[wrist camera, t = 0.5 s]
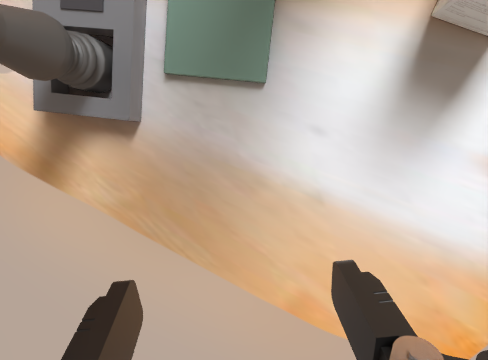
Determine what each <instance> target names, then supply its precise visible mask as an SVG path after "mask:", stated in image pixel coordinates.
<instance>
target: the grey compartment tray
mask: <svg viewBox="0 0 488 360" xmlns="http://www.w3.org/2000/svg"><path fill="white" fill-rule="evenodd" d="M146 5H147V0H33V10H34V11H40V12H44V13H46V14H48V15H49V16H51V17H52V18H54V19H56V20H57V21H59V22H60V23H61V24H62V25H63V27H64V28H65V30H66V31H67V30H68V31H75V32H79V33H84V34H88V35H100V36H112V37H113V66H112V97H111V99H108V98H98V97H89V96H79V95H69V85H67V84H64V83H63V82H61V81H59V80H58V79H53V80H49V81H41V80H34V79H33V95H34V110H36V111H46V112H55V113H64V114H73V115H82V116H91V117H100V118H109V119H118V120H127V121H140V122H141V108H142V87H143V67H144V46H145V26H146Z"/></svg>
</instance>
